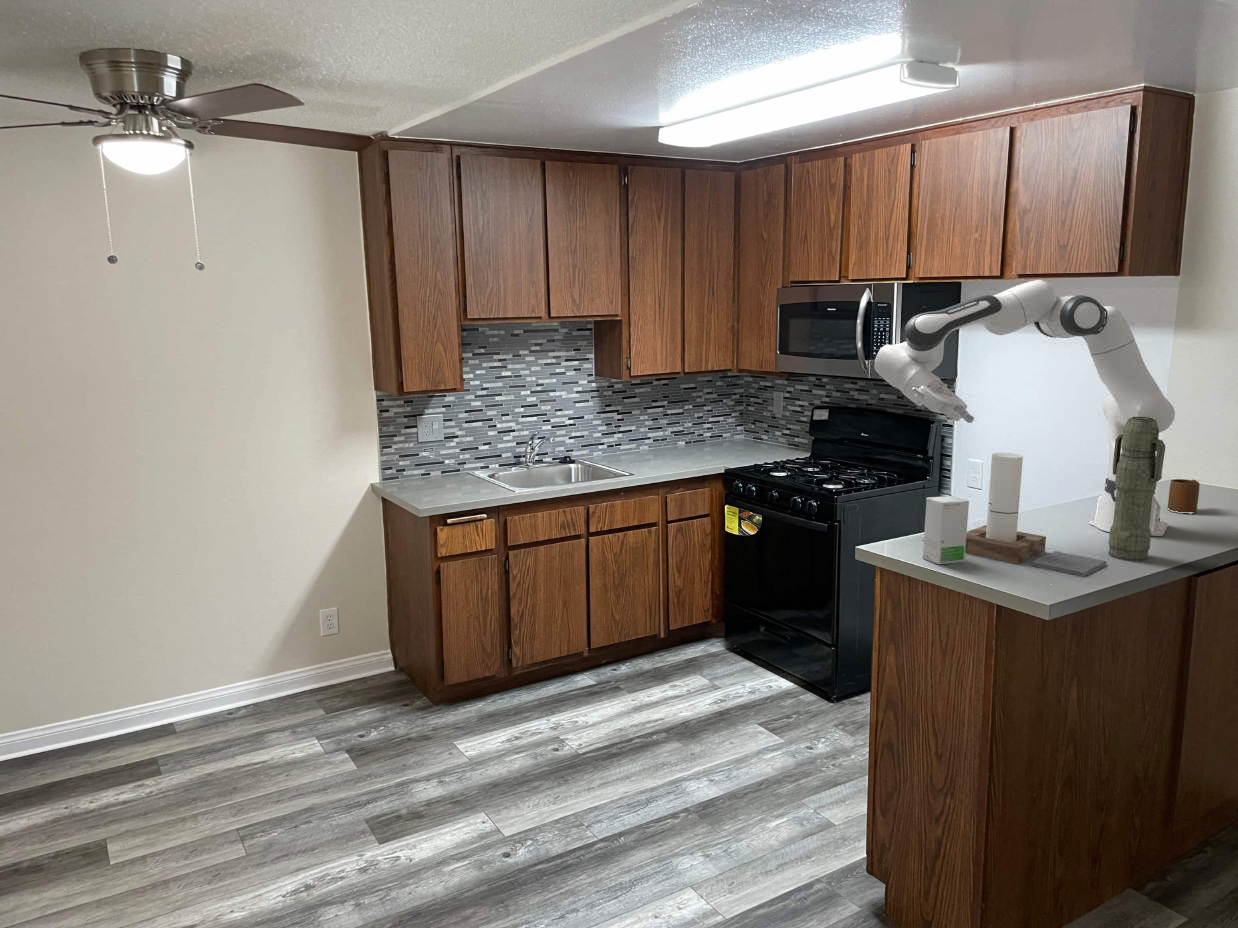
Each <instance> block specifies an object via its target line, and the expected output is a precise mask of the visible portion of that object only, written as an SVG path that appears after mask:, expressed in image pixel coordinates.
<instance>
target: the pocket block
mask: <svg viewBox="0 0 1238 928" xmlns="http://www.w3.org/2000/svg"><path fill="white" fill-rule="evenodd" d="M986 529H987V524H986V525H983V526H979V527H977V528H974V529H972V530H967V535H966V549H965V554H968V555H972V554H973V555H974V556H978V557H981V558H982V557H983V558H986V559H991V558H992V560H996V559H997V560H996V561H1001V560H1002V562H1005V561H1006V563H1010V562H1011V564H1015V563H1016V564H1015V565H1018V564H1021V563H1023V562H1025V561H1027V560H1030V559H1033V558H1034V557H1036V556H1038V555H1042V554H1043V553H1045V552H1046V542H1047V536H1045V535H1044V536H1043V535H1039V534H1036V533H1035V534H1034V533H1030V532H1028V533H1027V532H1023V531H1018V530H1017V535H1016V541H1015V542H1013V543H1008V542H1003V541H998V540H993V539H988V538H986ZM973 555H972V556H973Z"/></svg>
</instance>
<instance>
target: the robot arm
mask: <svg viewBox="0 0 1238 928" xmlns="http://www.w3.org/2000/svg"><path fill="white" fill-rule="evenodd" d="M976 323H981V324H982V326H983V328H985V329H986V330H987V331H988V332H989V333H991V334H994V335H996V336H1003V335H1004V336H1005V335H1009V334H1012V333H1014V332H1016V331H1019V330H1021V329H1023V328H1025V327H1027V326H1029V325H1030V324H1034V326H1035V328H1036V329H1037V330H1038V332H1040V334H1041V335H1043V336H1046V337H1049V338H1056V339H1057V338H1059V339H1060V338H1061V339H1070V338H1075V337H1081V338H1083V340H1084V341H1085V343H1086V345H1087V348H1088V351H1089V354H1090V356H1091V360H1092V362H1093V364H1094V366H1095V368H1096V369H1095V370H1096V371H1097V372H1096V373H1097V374H1098V377H1099V379H1100V381H1101V382H1102V383H1103V384H1104V386H1105V387H1106V388H1107V389H1108V391H1109V395H1107V396H1106V397H1105V399H1104V402H1103V404H1102V410H1103V414H1104V416H1105V418H1106V423H1107V432H1108V433H1107V434H1108V441H1109V458H1108V459H1109V460H1108V471H1107V477H1106V478H1105V482H1104V491H1105V492H1104V493H1103V494H1101V495H1100V496H1099V497H1098V499H1097V506H1096V512H1095V516H1094V519H1090V520H1089V522H1088V524H1089V525H1091V526H1094V527H1096V528H1097V529H1099V530H1101V531H1104V532H1108V533H1110V528H1111V526H1112V525H1113V520H1114V511H1115V501H1116V491H1117V490H1116V487H1115V479H1116V477H1115V476H1116V475H1114V474H1113V459H1114V449H1115V439H1116V438H1117V437H1118V436H1119V435H1121V434H1123V429H1124V427H1125V424H1126V422H1127V420H1128V419H1129V418H1131V417H1148V418H1153V420H1156V421H1157V425H1158V429H1159V433H1162V432H1164V431H1166V430H1168V429H1169V428H1170V427H1171V426H1172V424H1173V422H1174V420H1175V416H1176V413H1175V409H1174V406H1173V404H1172V403H1171V402H1170V401H1169V400H1168V399H1167V398H1166V397H1165V395H1164V393H1163V392H1162V390H1161V389H1160V387H1159V385H1158V384H1157V382H1156V381H1155V378H1154V377H1153V376H1152V374H1151V373H1150V371H1149V369H1148V368H1147V366H1146V364H1145V361H1144V359H1143V357H1142V354H1141V351H1140V349H1139V346H1138V344H1137V341H1136V339H1135V336H1134V334H1133V332H1132V330H1131V327H1130V325H1129V323H1128V321H1127V320H1126V319H1125V317H1124V315H1123V314H1122V312H1121V311H1120V309H1118V308H1117V307H1115V306H1112V305H1104V306H1103V305H1102V304H1101V303H1100V302H1099V301H1097V299H1095V298H1093V297H1092V296H1089V295H1083V294H1081V295H1080V294H1079V295H1065V296H1060V297H1059V296H1058V295H1057V294H1056V292H1055V290H1054V288H1053V287H1052V285H1051V284H1050V283H1049V282H1047V281H1046V280H1042V279H1036V280H1031V281H1027V282H1025V283H1021V284H1018V285H1015V286H1013V287H1010V288H1008V289H1006V290H1003V291H1002V292H1000V293H996V294H993V295H990V294H988V295H987V294H986V295H981V296H977V297H975V298H971V299H968V300H965V301H963V302H960V303H957V304H955V305H954V304H953V305H952V306H949V307H946V308H943V309H939V310H935V311H927V312H922V313H917V314H916V315H914V316H912V317H911V318H910V319H909V320H908V321H907V323H906V325H905V327H904V336H905V341H903V342H901V343H896V344H888V343H887V344H884V345H883V346H882V347H881V348H880V349H879V350H878V352H877V354H876V356H875V358H874V361H873V363H874V364H873V366H874V367H873V368H874V370H875V372H876V373H877V374H878V375H879V376H880V377H881V378H883V380H885V382H887V383H888V384H889V385H890V386H892V387H893V388H896V389H898V390H899V391H900V392H901V393H902V395H904V396H905V397H906V398H907V399H909V400H910V401H911V402H913V403H914V404H915V405H916V406H919V407H921V406H924V407H925V408H927V409H928V410H929V411H931V412H933V413H939V414H943V415H945V416H947V417H949V418H950V419H952V420H953V421H955V422H960V420H961V419H963V420H964V421H965V422H966V423H968V424H972V423H973V422H974V421H975V417H974V416H973V415H971V414H970V413H969V411H968V410H967V408H968V405H967V403H966V402H965V401H964V400H963V399H961V398H960V397H959V396H958V395H957V394H956V393H954V392H953V390H952V389H950V388H949V387H948V384H947V383H946V382H944V381H942V380H941V378H940V377H939V376H937V375H935V374H934V373H933V371H934V370H936V369H937V368H938V367H939V366H940V365H941V363H942V362H943V359H944V353H945V352H944V351H945V340H946V338H947V336H948V335H950V334H951V333H952V332H954V331H956V330H959V329H962V328H965V327H968V326H970V325H973V324H976ZM1121 454H1122V443H1121V453H1120V457H1121ZM1157 483H1158V482H1156V484H1157ZM1155 494H1156V490H1155V491H1154V492H1153V498H1152V507H1151V516H1150V526H1149V528H1150V531H1151V537H1152V536H1153V537H1162V536H1164V534H1165V532H1166V531H1167V529H1168V526H1169V523H1168V522H1167V521H1163V520H1161V518H1160V515H1161V505H1160V503H1159V502H1158V500H1157V499H1156V497H1155Z"/></svg>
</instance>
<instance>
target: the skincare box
mask: <svg viewBox="0 0 1238 928" xmlns="http://www.w3.org/2000/svg"><path fill="white" fill-rule="evenodd" d="M969 506H970V500H968V499H964V498H960V497H956V496H953V495H952V496H931V497H926V503H925V518H924V519H925V520H924V534H923V548H922V559H923V560H926V561H929V562H931V563H934V564H937V565H945V564H957V563H958V562H959V563H965V560H966V553H965V549H966V535H967V532H968V521H969V518H968V517H969V509H970V508H969ZM959 563H958V564H959Z"/></svg>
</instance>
